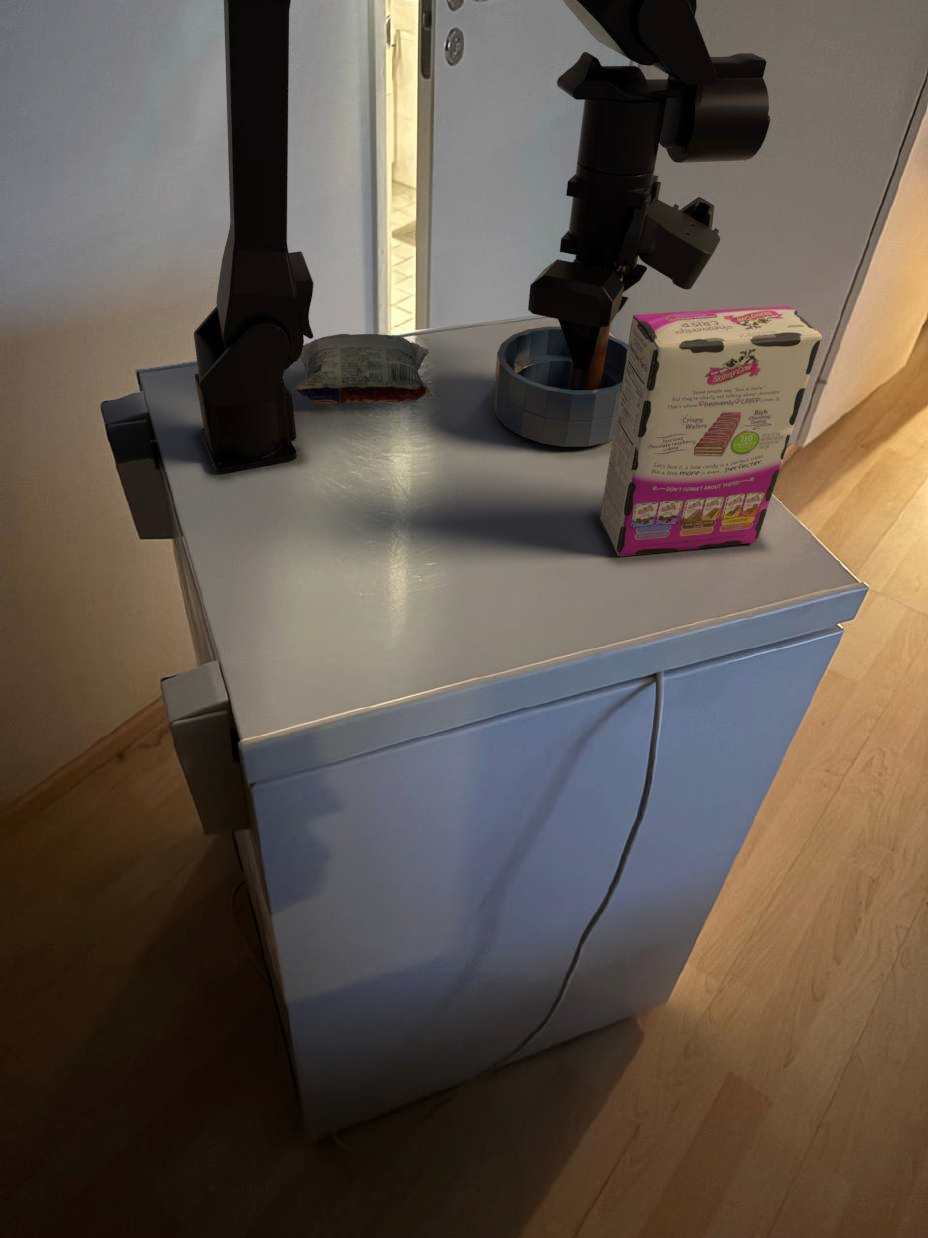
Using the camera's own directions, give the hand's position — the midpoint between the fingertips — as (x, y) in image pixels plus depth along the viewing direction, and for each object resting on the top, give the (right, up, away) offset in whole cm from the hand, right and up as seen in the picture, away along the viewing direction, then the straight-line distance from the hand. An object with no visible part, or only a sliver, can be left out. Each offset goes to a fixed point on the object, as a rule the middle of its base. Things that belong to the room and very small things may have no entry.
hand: (586, 361), depth 76 cm
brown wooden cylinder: (0, -3, +2) cm, 4 cm away
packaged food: (-20, -1, +5) cm, 20 cm away
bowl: (-2, -4, +3) cm, 5 cm away
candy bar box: (+5, -16, -9) cm, 19 cm away
